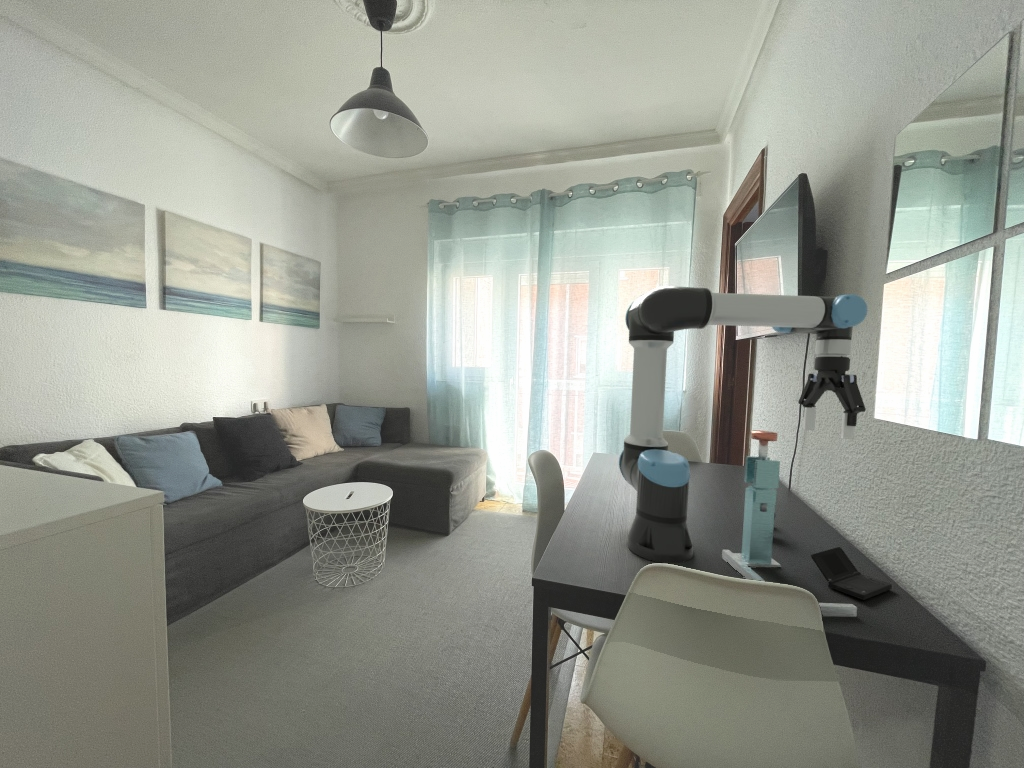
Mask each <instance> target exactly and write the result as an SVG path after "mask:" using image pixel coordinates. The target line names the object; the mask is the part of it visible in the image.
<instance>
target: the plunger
mask: <svg viewBox="0 0 1024 768" xmlns="http://www.w3.org/2000/svg"><path fill="white" fill-rule="evenodd" d="M750 432H751V433H750V438H751V440H757V441H758V452H757V457H758V460H767V457H768V453H769V442H778V432H775V431H769V430H759V429H758V430H754V429H753V430H750Z"/></svg>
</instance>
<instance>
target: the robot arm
mask: <svg viewBox="0 0 1024 768" xmlns="http://www.w3.org/2000/svg"><path fill="white" fill-rule="evenodd" d="M867 314H868V304H867V302H866V300H865V299H864V298H863V297H861V296H860V295H858V294H856V293H855V294H852V293H851V294H841V295H838V296H816V295H815V296H814V295H812V296H811V295H792V294H791V295H789V294H788V295H783V294H782V295H781V294H761V293H760V294H758V293H754V294H753V293H732V292H731V293H729V292H728V293H727V292H712V289H710V288H708V287H707V288H706V287H695V286H694V287H691V286H677V285H675V286H674V285H669V286H668V285H666V286H659V287H656V288H654V289H651V290H650V291H648V292H647V293H645V294H642V295H640V296H638V297H636V298H635V299H633V301H632V302H631V303H630V305H629V306H628V307H627V309H626V313H625V316H624V317H625V326H626V328H627V329H628V344H629V345H630V346H631V347H632V348H633V361H632V362H633V364H632V384H631V385H632V386H631V387H632V388H631V402H630V404H631V406H630V407H631V408H630V425H629V426H630V429H629V435H627V436H626V437H625V438H624V439H623V450H622V451H621V452H620V455H619V457H618V468H619V471H620V474H621V476H622V477H623V479H624V480H625V482H627V483H628V484H629V485H630V486H631V487H633V488H634V489H635V491H636V508H635V516H634V519H633V521H632V523H631V525H630V529H629V530H628V533H627V537H626V539H627V541H626V542H627V543H626V546H627V548H628V549H629V550H630V551H631V552H632V553H633V554H634V555H636V556H638V557H641V558H643V559H645V560H649V561H651V560H652V562H655V563H659V562H663V563H683V561H684V562H687V561H689V560H691V559H692V558H693V557H694V544H693V540H692V536H691V532H690V529H689V525H688V521H687V520H688V505H689V503H688V502H689V489H690V478H691V472H690V464H689V461H688V459H687V458H686V457H685V456H683V455H681V454H679V453H676V452H672V451H670V450H669V443H668V441H667V440H666V438H664V435H663V433H664V416H665V415H664V413H665V394H666V393H665V392H666V376H667V373H666V372H667V354H668V349H669V348H670V347H671V346H672V345H673V344H674V340H675V338H674V337H675V332H677V331H683V330H693V329H694V330H695V329H697V330H698V329H699V330H701V329H705V328H706V327H707V326H733V327H735V326H736V327H737V326H738V327H740V326H741V327H765V328H766V327H767V328H768V327H771V328H772V330H774V331H775V332H777V333H784V334H812V335H813V334H815V337H816V339H815V351H814V355H816V357H815V358H814V367H813V368H814V370H815V371H817V373H810V372H809V374H807V380H806V383H805V385H804V388H803V390H802V392H801V395H800V397H799V400H798V404H799V405H801V406H802V407H803V414H802V415H803V416H802V417H803V427H802V428H803V431H815V427H816V426H815V425H816V414H817V413H816V412H817V408H816V403H818V401H819V400H820V399H821V398H822V396H823V395H824V394H825V392H827V391H829V392H833V393H835V395H836V397H837V399H838V400H839V403H840V404H841V406H842V407H843V409H844V411H843V412H842V416H841V417H842V418H841V431H840V438H841V439H845V440H846V439H847V440H849V439H850V440H854V439H855V427H857V422H858V421H857V418H858V414H859V413H864V412H865V411H866V406H865V402H864V401H863V400H864V399H863V397H862V395H861V392H860V389H859V384H858V376H857V374H848V373H846V372H848V371H850V368H851V358H850V357H848V356H850V355H851V354H852V353H851V351H852V338H853V328H854V327H856V326H857V325H859V324H861V323H862V322H863V321H865V319H866V317H867Z"/></svg>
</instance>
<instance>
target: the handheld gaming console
mask: <svg viewBox="0 0 1024 768" xmlns="http://www.w3.org/2000/svg"><path fill="white" fill-rule="evenodd" d="M810 558H811V559H812V561H813V563H814V564H815V565H816V567H817V568H818V570H819V571H820V572H821V574H822V576H823V577H824V578H825V580H826V581H827V583H828V588H830V589H832V590H836V591H838V592H840V593H844V594H846V595H849V596H852V597H855V598H857V599H860V600H862V601H864V600H867V599H870V598H872V597H875V596H878V595H880V594H882V593H885V592H888V591H890V590H892V588H893V587H892V586H893V584H892V583H889V582H887V581H886V582H885V581H884V580H880V579H877V578H874V577H871V576H867V575H864V574H861V571H858V569H857V568H856V566H855V565H854V564H853V562H852V561H851V560H850V558H849V557H848V555H847V554H846V553H845V551H844V550H843V549H842V547H840V546H837V547H834V548H830V549H826V550H824V551H819V552H815V553H812V554H810Z"/></svg>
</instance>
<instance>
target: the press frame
mask: <svg viewBox="0 0 1024 768" xmlns="http://www.w3.org/2000/svg"><path fill="white" fill-rule="evenodd" d="M780 464H781V461H779V460H772V459H771V458H770V457H768V456H767V460H758V456H749V455H747V456H745V465H744V477H743V478H744V483H747V484H748V487H745V494H744V495H745V496H744V508H743V509H744V510H743V522H742V523H743V525H742V541H741V542H742V543H741V544H742V545H741V553H740V552H737V553H736V552H732V551H731V550H729V549H722V550H721V551H722V552H721V553H722V554H721V558H722V560H723V561H725V562H726V563H727V562H728V563H729V564H730V565H731V566H732V567H733V568H734V569H735V570H737V571H738V572H739V573H741V574H742V575H743V576H745V577H742V578H743V579H744V578H746V579H753V580H761V581H765V580H764V578H762V577H761V576H760V575H759V574H758V573H756V571H754V570H753V569H752V567H748V566H765V567H781V568H782V565H781V564H780V563H779V562H777V561H776V560H775V559H774V558H772V553H773V539H774V538H773V537H774V527H775V526H774V525H775V520H774V513H775V514H776V511H775V509H776V505H777V493H778V491H777V489H779V481H780V467H781V465H780ZM750 484H752V485H750ZM728 563H727V564H728ZM729 564H728V565H729ZM730 565H729V566H730ZM731 566H730V567H731ZM732 567H731V568H732ZM733 568H732V569H733ZM734 569H733V570H734ZM735 570H734V571H735ZM738 572H737V573H738ZM739 573H738V574H739ZM818 603H819V605H820V607H821V611H822V614H823V616H822V617H839V618H840V617H848V618H850V617H852V618H856V617H857V613H858V607H857V606H855V605H854V604H853V603H838V602H837V603H835V602H834V603H833V602H832V603H831V602H818Z"/></svg>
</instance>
